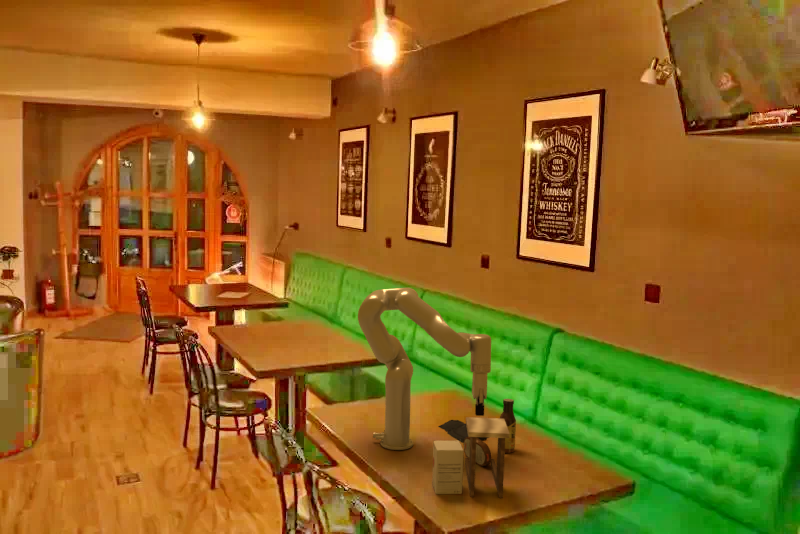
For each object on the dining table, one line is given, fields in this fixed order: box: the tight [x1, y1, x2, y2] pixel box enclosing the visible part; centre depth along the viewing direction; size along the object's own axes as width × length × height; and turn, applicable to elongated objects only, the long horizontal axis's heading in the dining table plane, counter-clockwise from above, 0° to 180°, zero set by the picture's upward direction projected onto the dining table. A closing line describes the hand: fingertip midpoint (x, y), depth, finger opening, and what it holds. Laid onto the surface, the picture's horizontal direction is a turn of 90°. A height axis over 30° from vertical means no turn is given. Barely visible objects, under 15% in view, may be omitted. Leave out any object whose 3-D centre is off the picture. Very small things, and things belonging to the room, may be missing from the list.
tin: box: [463, 437, 493, 467], centre depth 251 cm, size 15×3×8 cm, turn 28°
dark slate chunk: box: [437, 419, 490, 444], centre depth 280 cm, size 15×22×5 cm
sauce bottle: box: [499, 398, 517, 454], centre depth 262 cm, size 7×6×20 cm
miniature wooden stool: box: [464, 416, 510, 499], centre depth 234 cm, size 13×27×22 cm, turn 178°
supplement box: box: [431, 440, 465, 495], centre depth 227 cm, size 9×9×15 cm
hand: (479, 414), depth 259 cm, fingers closed
